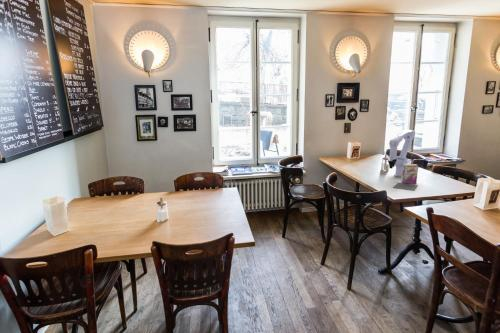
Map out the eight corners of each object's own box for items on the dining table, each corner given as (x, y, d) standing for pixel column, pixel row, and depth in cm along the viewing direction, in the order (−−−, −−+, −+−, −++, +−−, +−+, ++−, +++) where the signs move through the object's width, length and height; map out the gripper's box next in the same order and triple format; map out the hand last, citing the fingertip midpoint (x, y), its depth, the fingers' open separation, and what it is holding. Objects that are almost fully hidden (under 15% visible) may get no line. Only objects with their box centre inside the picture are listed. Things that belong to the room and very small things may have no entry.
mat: (397, 182, 278) (397, 182, 278) (418, 185, 269) (418, 185, 268) (393, 187, 265) (393, 187, 265) (414, 190, 256) (414, 190, 256)
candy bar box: (403, 183, 275) (404, 165, 271) (401, 182, 280) (402, 163, 276) (416, 183, 274) (418, 165, 270) (414, 182, 279) (416, 163, 275)
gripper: (390, 151, 294) (389, 165, 297) (386, 153, 282) (385, 168, 285) (398, 152, 290) (397, 166, 293) (395, 154, 278) (393, 169, 281)
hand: (391, 167), depth 289 cm, fingers open, 7 cm apart
